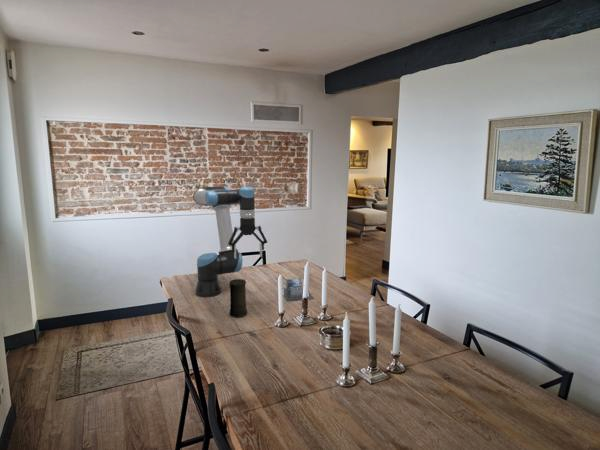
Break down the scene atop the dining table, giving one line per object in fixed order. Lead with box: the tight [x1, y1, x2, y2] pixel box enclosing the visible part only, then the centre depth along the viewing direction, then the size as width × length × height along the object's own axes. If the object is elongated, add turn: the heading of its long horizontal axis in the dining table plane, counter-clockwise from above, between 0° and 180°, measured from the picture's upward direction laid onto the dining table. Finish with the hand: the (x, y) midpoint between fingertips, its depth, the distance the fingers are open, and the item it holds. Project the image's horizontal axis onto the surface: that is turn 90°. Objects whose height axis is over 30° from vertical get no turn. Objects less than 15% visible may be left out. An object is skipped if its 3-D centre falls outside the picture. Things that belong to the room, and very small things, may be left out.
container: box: [229, 278, 248, 319], centre depth 203 cm, size 9×9×18 cm
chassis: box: [283, 277, 315, 303], centre depth 233 cm, size 20×16×8 cm
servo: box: [291, 278, 301, 287], centre depth 233 cm, size 9×4×9 cm, turn 17°
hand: (248, 257), depth 207 cm, fingers open, 13 cm apart
